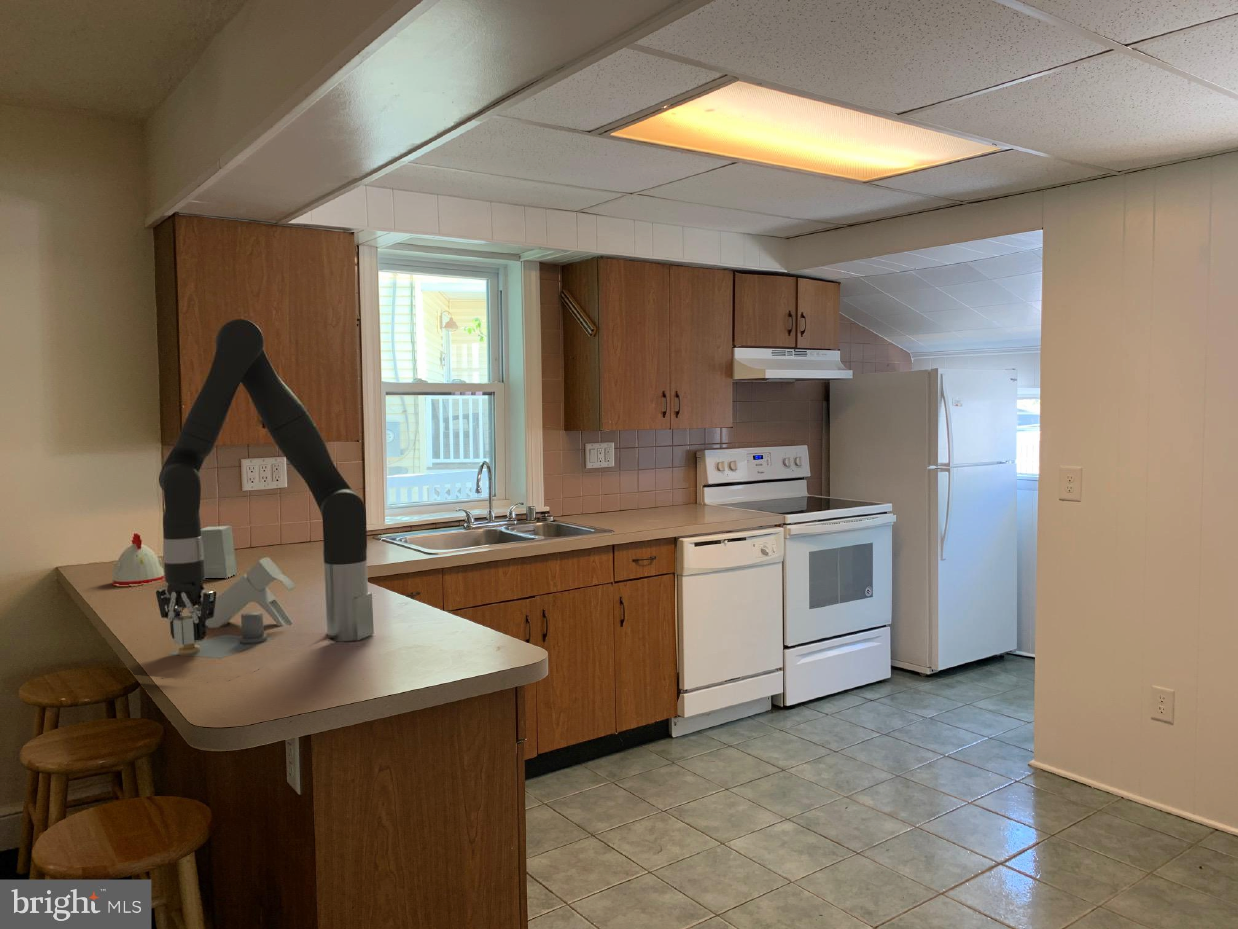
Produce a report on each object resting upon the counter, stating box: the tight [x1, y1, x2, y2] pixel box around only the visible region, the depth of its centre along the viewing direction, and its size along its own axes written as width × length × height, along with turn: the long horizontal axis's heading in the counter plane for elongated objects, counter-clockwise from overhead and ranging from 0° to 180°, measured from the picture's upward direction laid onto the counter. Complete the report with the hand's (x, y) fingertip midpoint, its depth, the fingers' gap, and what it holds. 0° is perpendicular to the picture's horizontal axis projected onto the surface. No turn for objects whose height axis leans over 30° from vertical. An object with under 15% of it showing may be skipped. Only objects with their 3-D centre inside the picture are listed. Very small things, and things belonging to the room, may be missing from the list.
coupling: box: [173, 613, 204, 646], centre depth 190 cm, size 5×5×5 cm
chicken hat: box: [112, 533, 165, 585], centre depth 277 cm, size 14×14×15 cm
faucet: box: [197, 556, 296, 629], centre depth 215 cm, size 6×16×20 cm
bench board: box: [167, 611, 275, 659], centre depth 195 cm, size 14×16×8 cm
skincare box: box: [201, 525, 238, 579], centre depth 281 cm, size 8×7×16 cm
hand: (188, 638), depth 190 cm, fingers closed on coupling, 5 cm apart
